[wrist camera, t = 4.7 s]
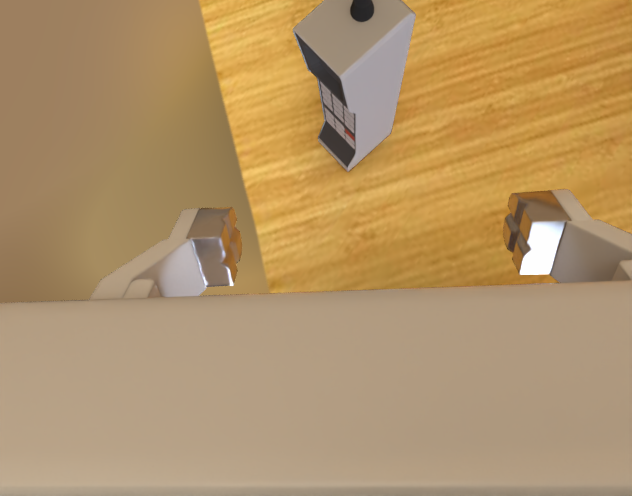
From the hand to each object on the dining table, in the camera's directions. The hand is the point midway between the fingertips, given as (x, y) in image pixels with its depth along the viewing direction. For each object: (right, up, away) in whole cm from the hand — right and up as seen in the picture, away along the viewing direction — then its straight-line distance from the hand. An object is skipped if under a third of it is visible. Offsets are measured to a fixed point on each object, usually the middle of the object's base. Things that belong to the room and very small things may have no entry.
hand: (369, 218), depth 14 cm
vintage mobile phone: (+2, +8, +25) cm, 27 cm away
